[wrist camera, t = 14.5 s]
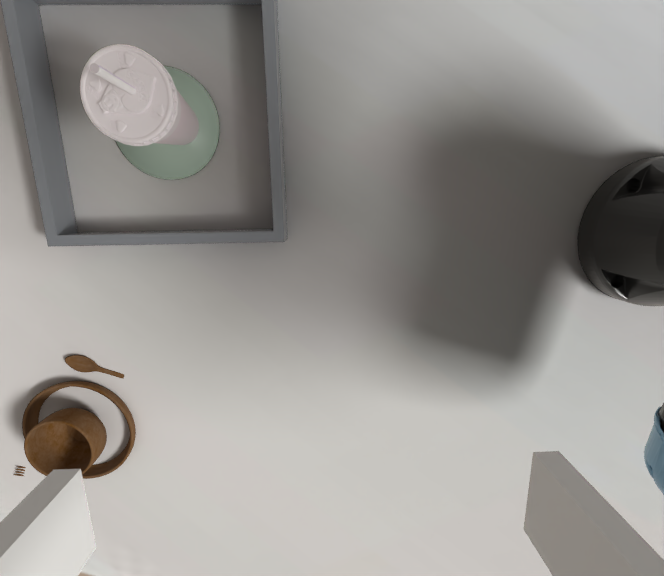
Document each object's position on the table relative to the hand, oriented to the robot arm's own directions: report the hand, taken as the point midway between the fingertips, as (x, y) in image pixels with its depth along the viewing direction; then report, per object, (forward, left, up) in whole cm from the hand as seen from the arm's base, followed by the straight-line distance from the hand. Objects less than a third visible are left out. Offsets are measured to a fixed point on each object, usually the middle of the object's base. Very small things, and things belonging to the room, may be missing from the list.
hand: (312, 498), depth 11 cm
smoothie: (+13, -16, -29) cm, 35 cm away
